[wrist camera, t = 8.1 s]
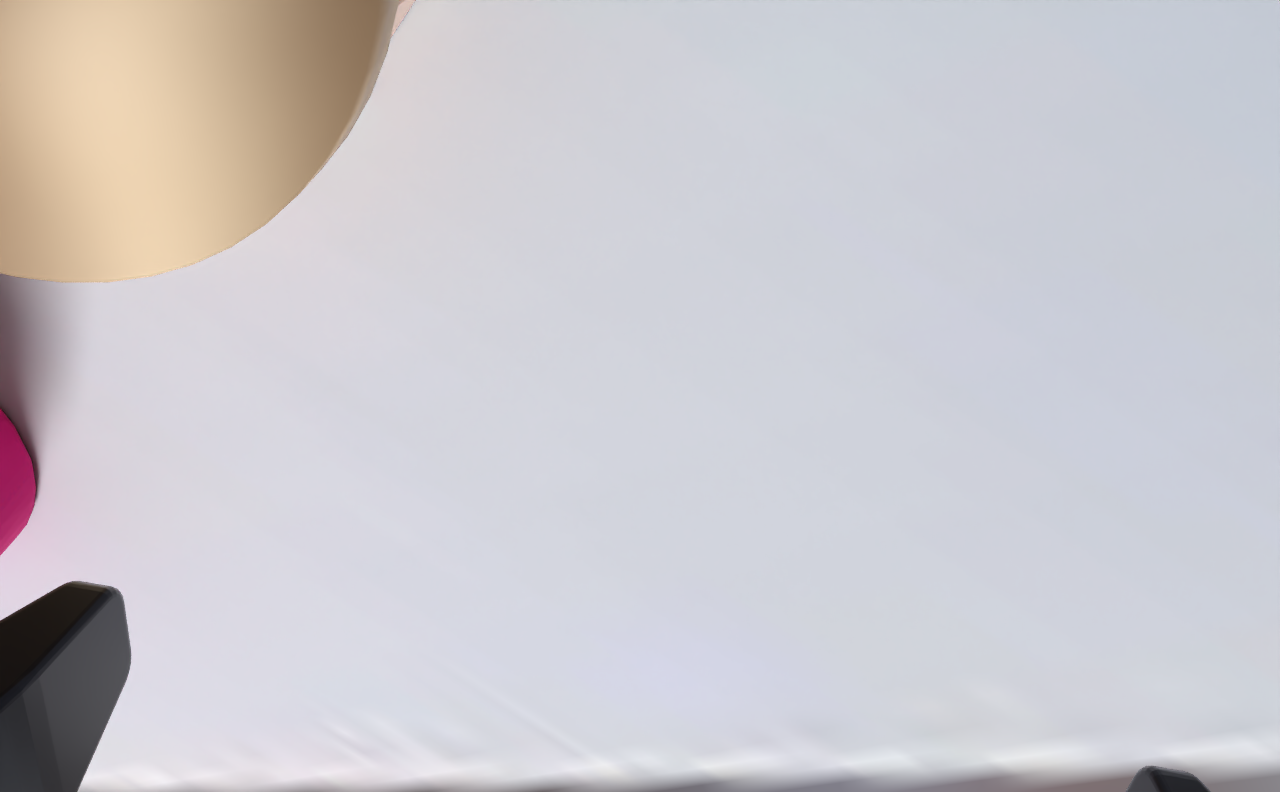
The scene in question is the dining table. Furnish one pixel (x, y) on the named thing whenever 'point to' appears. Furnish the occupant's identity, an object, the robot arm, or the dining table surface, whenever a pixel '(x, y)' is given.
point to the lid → (169, 124)
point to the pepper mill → (14, 483)
